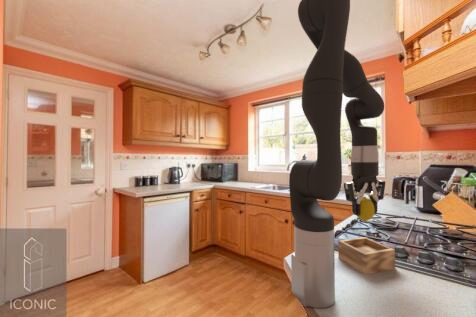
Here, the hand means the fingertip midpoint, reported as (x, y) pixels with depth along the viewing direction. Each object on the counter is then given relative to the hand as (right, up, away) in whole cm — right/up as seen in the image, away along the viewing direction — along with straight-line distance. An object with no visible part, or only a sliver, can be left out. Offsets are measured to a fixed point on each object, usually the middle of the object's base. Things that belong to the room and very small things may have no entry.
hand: (365, 214), depth 72 cm
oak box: (0, -16, 0) cm, 16 cm away
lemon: (0, -3, 0) cm, 3 cm away
